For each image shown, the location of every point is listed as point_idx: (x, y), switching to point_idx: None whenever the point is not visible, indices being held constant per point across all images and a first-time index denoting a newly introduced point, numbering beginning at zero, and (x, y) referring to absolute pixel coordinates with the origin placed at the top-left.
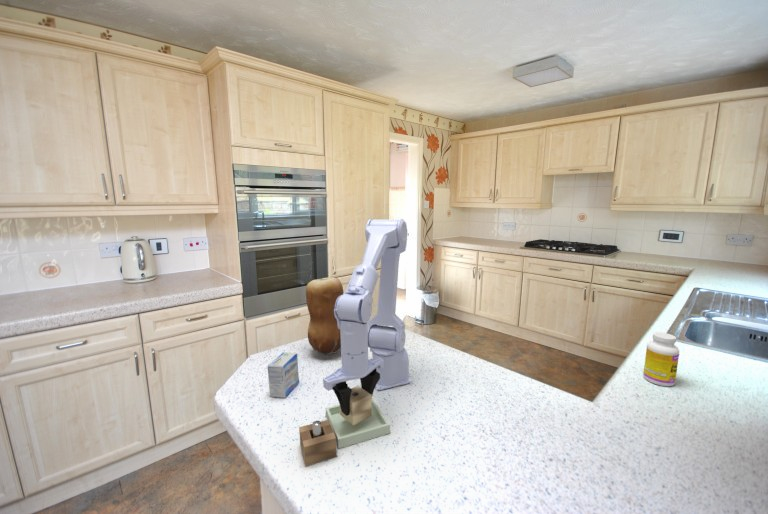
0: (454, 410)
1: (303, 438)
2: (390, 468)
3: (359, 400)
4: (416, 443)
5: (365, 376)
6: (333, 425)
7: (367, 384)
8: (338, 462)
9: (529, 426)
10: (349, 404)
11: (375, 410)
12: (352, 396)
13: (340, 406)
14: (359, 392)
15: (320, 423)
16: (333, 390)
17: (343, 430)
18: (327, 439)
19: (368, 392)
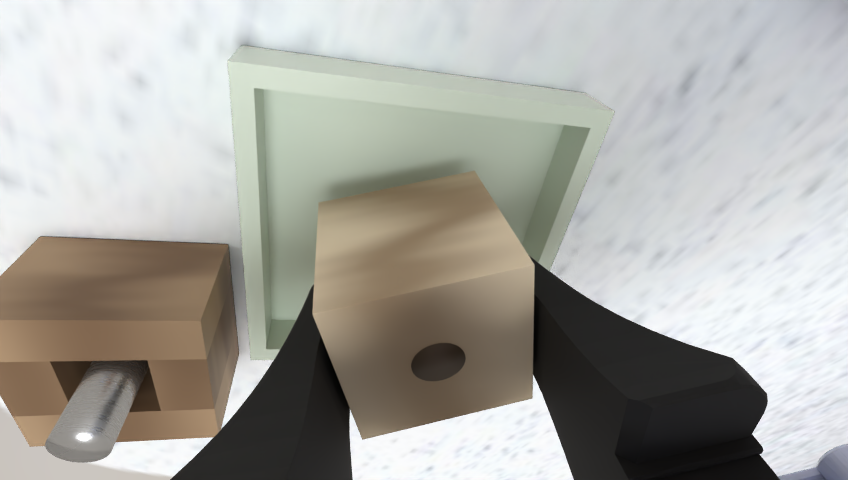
0: (785, 310)
1: (15, 403)
2: (401, 430)
3: (424, 423)
4: (538, 385)
5: (601, 472)
6: (248, 269)
7: (565, 416)
8: (240, 374)
9: (813, 420)
10: (347, 409)
11: (543, 212)
12: (402, 377)
13: (303, 308)
14: (479, 353)
15: (109, 452)
16: (220, 430)
17: (313, 250)
18: (170, 436)
19: (536, 367)
